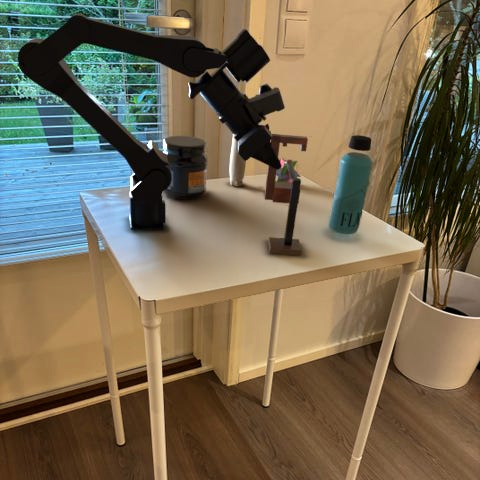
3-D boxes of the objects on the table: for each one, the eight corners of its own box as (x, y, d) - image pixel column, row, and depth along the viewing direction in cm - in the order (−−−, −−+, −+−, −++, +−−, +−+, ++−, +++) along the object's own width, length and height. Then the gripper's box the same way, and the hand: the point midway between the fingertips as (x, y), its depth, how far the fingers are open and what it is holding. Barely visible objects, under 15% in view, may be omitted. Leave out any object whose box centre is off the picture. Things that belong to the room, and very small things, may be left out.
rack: (269, 253, 96) (278, 182, 88) (264, 220, 110) (272, 156, 102) (300, 255, 96) (312, 185, 89) (292, 222, 110) (301, 158, 102)
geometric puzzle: (309, 181, 128) (300, 150, 127) (289, 184, 124) (279, 153, 124) (292, 190, 134) (283, 161, 133) (272, 194, 130) (263, 164, 130)
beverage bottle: (334, 242, 103) (354, 141, 92) (321, 228, 108) (338, 131, 97) (362, 240, 105) (385, 141, 94) (348, 227, 110) (369, 132, 99)
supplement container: (215, 195, 120) (218, 143, 113) (179, 204, 114) (180, 149, 107) (187, 182, 126) (188, 132, 119) (152, 190, 120) (151, 137, 113)
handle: (235, 190, 124) (240, 126, 116) (221, 182, 129) (224, 120, 120) (251, 187, 127) (257, 125, 119) (236, 179, 131) (241, 118, 123)
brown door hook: (265, 201, 101) (272, 137, 94) (263, 194, 104) (271, 132, 98) (298, 204, 102) (308, 140, 95) (296, 197, 105) (306, 135, 98)
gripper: (265, 78, 82) (320, 152, 89) (258, 63, 98) (306, 127, 104) (213, 124, 86) (270, 192, 93) (215, 103, 101) (264, 163, 108)
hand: (279, 166), depth 99 cm, fingers closed on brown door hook, 2 cm apart
